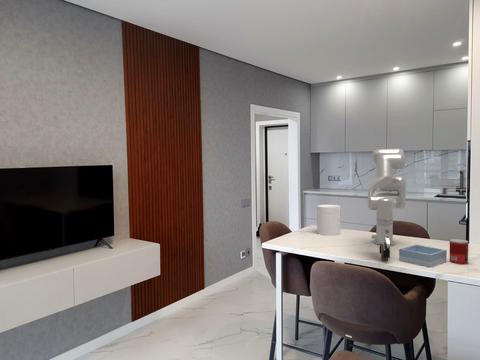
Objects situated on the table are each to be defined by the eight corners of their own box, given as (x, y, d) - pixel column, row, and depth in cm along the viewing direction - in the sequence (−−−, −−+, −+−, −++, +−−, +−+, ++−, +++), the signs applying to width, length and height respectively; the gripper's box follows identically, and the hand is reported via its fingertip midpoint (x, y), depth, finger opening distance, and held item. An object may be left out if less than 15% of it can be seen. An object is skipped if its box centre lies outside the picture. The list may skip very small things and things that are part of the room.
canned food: (469, 264, 175) (469, 242, 175) (450, 263, 178) (451, 241, 178) (466, 260, 182) (466, 239, 182) (448, 259, 185) (448, 238, 185)
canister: (313, 234, 256) (313, 206, 255) (323, 230, 269) (322, 204, 268) (335, 236, 246) (334, 207, 245) (343, 232, 259) (343, 205, 258)
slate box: (399, 260, 185) (399, 248, 185) (415, 255, 194) (415, 244, 194) (430, 267, 172) (430, 255, 172) (446, 261, 181) (446, 250, 181)
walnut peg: (379, 259, 187) (379, 240, 186) (383, 258, 189) (383, 240, 188) (385, 261, 184) (385, 242, 183) (389, 260, 186) (389, 241, 185)
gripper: (396, 225, 176) (396, 260, 177) (388, 219, 193) (388, 251, 194) (380, 224, 177) (380, 260, 178) (373, 219, 194) (373, 251, 195)
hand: (384, 255), depth 186 cm, fingers open, 7 cm apart
